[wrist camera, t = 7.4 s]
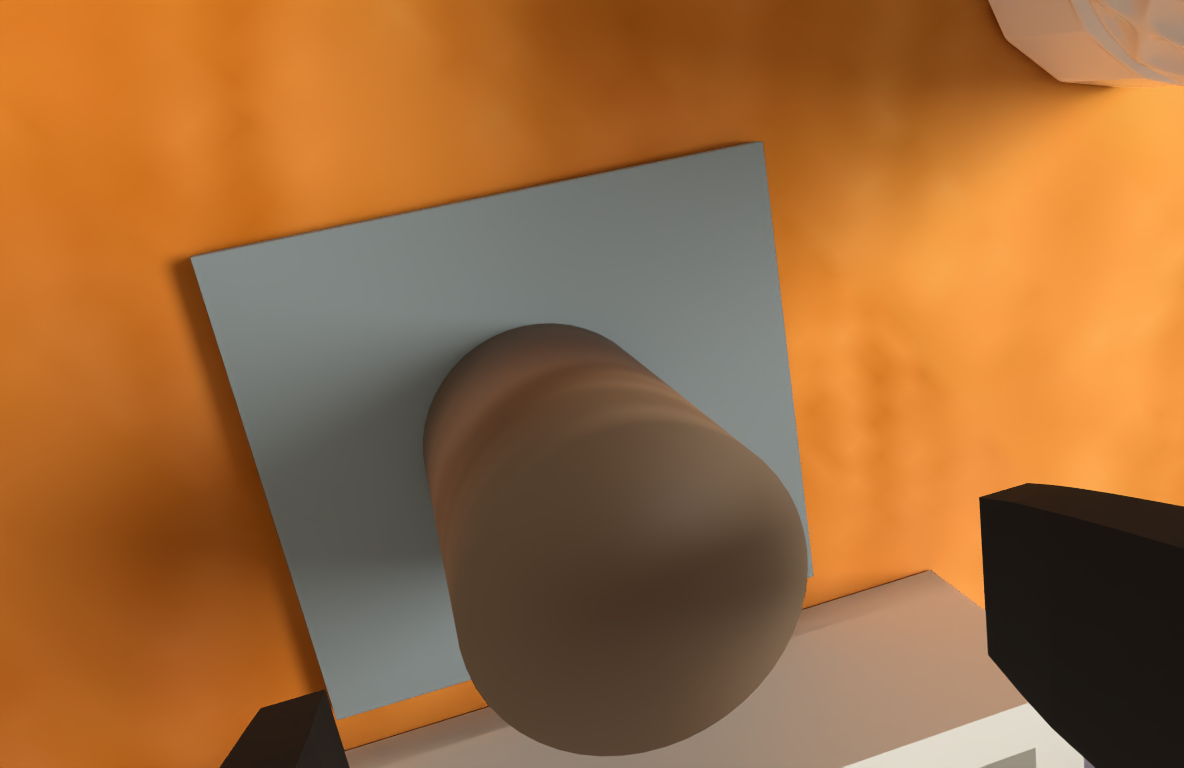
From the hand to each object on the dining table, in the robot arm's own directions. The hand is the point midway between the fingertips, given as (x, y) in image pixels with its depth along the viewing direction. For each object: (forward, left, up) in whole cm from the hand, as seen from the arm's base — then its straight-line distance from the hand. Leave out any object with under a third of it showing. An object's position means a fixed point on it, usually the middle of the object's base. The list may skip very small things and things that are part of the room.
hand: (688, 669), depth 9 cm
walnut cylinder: (0, 0, -8) cm, 8 cm away
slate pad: (0, 0, -8) cm, 8 cm away
